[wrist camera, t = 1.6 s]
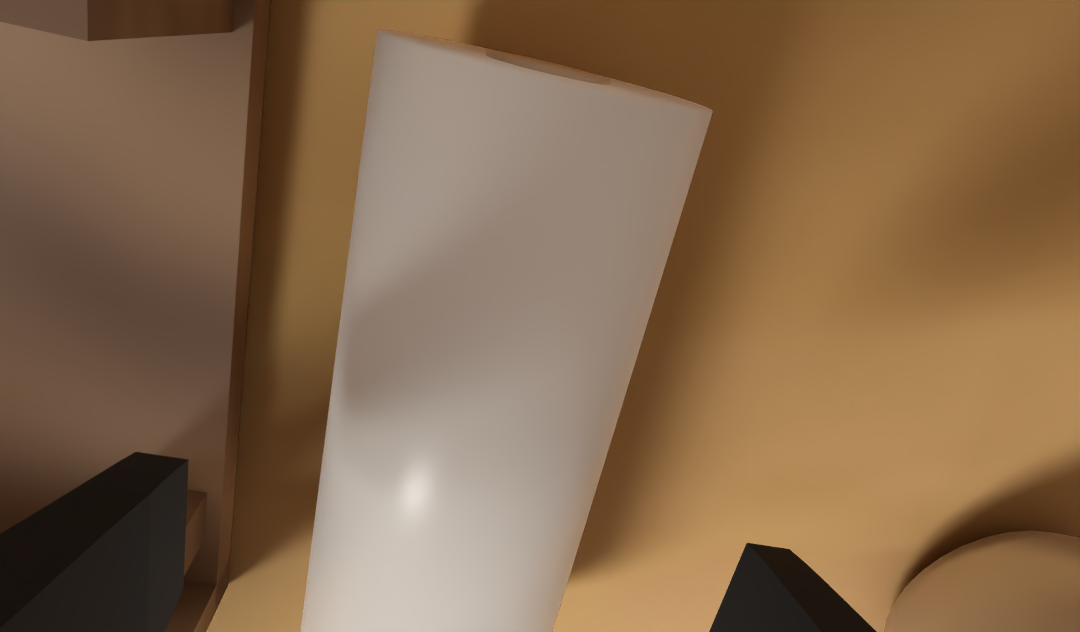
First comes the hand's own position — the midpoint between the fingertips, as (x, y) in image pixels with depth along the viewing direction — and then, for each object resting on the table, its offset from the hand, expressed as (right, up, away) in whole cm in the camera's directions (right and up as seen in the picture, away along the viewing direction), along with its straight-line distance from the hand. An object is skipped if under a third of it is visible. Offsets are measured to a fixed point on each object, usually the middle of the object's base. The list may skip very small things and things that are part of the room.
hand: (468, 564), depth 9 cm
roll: (0, +2, +5) cm, 6 cm away
